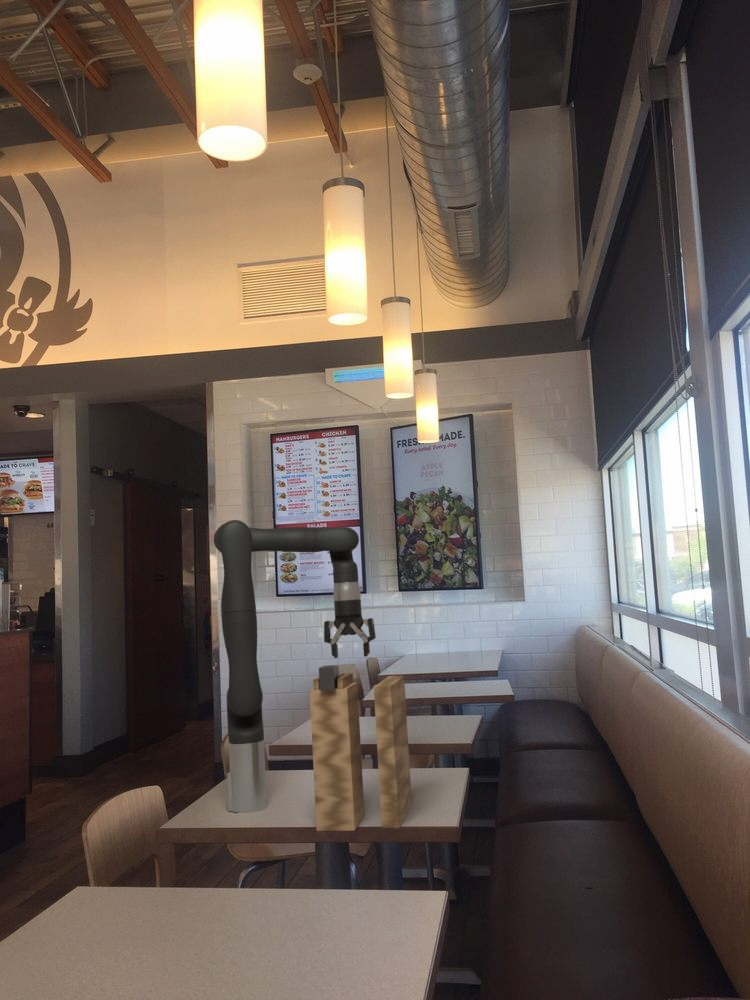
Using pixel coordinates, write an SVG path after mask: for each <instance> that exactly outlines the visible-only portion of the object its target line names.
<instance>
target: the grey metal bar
mask: <svg viewBox="0 0 750 1000" xmlns="http://www.w3.org/2000/svg"><path fill="white" fill-rule="evenodd" d="M356 666H357V664H356V663H342V664H339V665H338V664H335V665H334V664H333V665H332V664H331V665H322V666H320V667H318V677H319V684H320V690H335V689H337V688H338V683H337V679H338V678H340V677H342V676H344V675H346V674H347V673H353V680H354V679H356V678H357V667H356Z"/></svg>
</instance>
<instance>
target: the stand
mask: <svg viewBox="0 0 750 1000" xmlns="http://www.w3.org/2000/svg"><path fill="white" fill-rule="evenodd" d="M337 683H338V688H337V689H335V690H320V684H319V676H318V677H316V678H314V679H313V688H312V689H309V705H310V724H311V725H310V726H311V742H312V743H311V745H312V761H313V762H312V763H313V765H312V767H313V782H314V785H313V786H314V787H313V788H314V803H315V804H314V805H315V823H316V825H315V827H316V832H330V831H331V832H334V831H335V832H336V831H337V832H339V831H340V832H351V831H353V832H354V831H356V830H357V828H358V826H359V825H360V823H361V822H362V821H363V819H364V818H365V798H364V782H363V766H362V765H363V763H362V745H361V728H360V726H361V725H360V708H359V690H358V682H354V679H353V673H347V674H346V675H344V676H342V677H340V678H338V679H337ZM405 684H406V683H405V675H389V676H386V678H384V679H383V680H381V681H380V682H378V683H377V684H375V685H374V687H373V697H374V699H373V700H374V714H375V730H376V731H375V733H376V746H377V747H376V749H377V765H378V766H377V767H378V784H379V786H378V787H379V800H380V801H379V802H380V804H379V805H380V820H381V821H380V822H381V828H382V829H393V828H394V829H399V828H400V826H401V825H402V823H403V821H404V818H405V817H406V814H407V813H408V811H409V809H410V807H411V805H412V802H413V801H412V800H413V799H412V785H411V784H412V783H411V782H412V781H411V780H412V779H411V768H410V767H411V766H410V748H409V737H408V732H409V731H408V720H407V719H408V717H407V716H408V715H407V704H406V703H407V701H406V686H405Z"/></svg>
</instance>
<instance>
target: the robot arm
mask: <svg viewBox="0 0 750 1000" xmlns="http://www.w3.org/2000/svg"><path fill="white" fill-rule="evenodd" d="M359 542H360V537H359V534H358V532H356V530H355V529H354V528H352V527H347V526H335V527H315V526H314V527H313V526H311V527H310V526H296V527H295V526H291V527H289V526H288V527H277V528H276V527H275V528H256V527H250V526H248V524H246V523H245V522H243V521H242V520H237V519H233V520H232V519H231V520H229V521H226V522H225V523H222V524H221V525H220V526H219V527H218V528H217V529H216V531H215V533H214V535H213V543H214V546H215V548H216V550H217V551H218V552H219V553H221V557H222V564H223V584H222V589H221V590H222V591H221V592H222V593H221V601H220V614H221V615H220V617H221V625H222V626H221V628H222V637H223V640H224V645H225V646H224V647H225V650H226V655H227V660H228V689H227V691H226V716H227V735H228V757H229V758H228V759H229V761H228V762H229V771H228V773H227V774H226V779H227V784H226V785H227V802H228V804H227V806H228V810H227V811H228V812H234V813H243V814H244V813H254V812H259V811H262V810H264V809H266V808H267V805H268V804H267V801H268V797H267V780H266V779H267V777H266V757H265V756H266V755H265V753H266V752H265V733H264V732H265V730H264V723H263V720H264V719H263V704H262V703H263V700H264V694H263V691H262V687H261V686H262V685H261V682H260V675H259V669H258V658H257V657H258V656H257V655H258V653H257V652H258V618H257V617H258V616H257V605H256V604H257V603H256V598H255V597H256V596H255V589H254V586H255V585H254V580H253V573H252V556H253V555H252V553H253V552H285V553H286V552H287V553H288V552H289V553H321V552H328V553H329V557H330V562H331V565H332V575H333V592H332V593H333V604H334V605H333V606H334V607H333V608H334V620H332V621H330V620H325V621H323V622H324V623H323V641H324V643H327V644H330V647H331V656H332V657H333V658H334V659H338V658H339V647H338V644H337V643H338V642H339V640H340V638H341V637H342V636H348V635H350V636H355V635H357V636H358V637H359V638H360V639H361V640H362V641H363V643H362V645H363V657H366V658H367V657H368V656H369V654H370V652H371V651H370V650H371V648H370V643H371V641H374V640H375V639H376V637H377V636H376V630H375V629H376V628H375V622H374V618H372V617H370V618H365V619H364V618H363V614H362V598H361V597H362V596H361V595H362V594H361V589H360V584H359V571H358V565H357V563H356V562H355V561H354V557H353V556H354V555H353V551H354V550H355V549H356V548H357V547H358V545H359ZM364 624H365V626H366V627H368V633H369V636H368V635H367V634H366V633H365V631H364V630H363V628H362V627H363V625H364ZM333 626H334V627H335V628H336V632H335V634H334V635H333V637H332V638H331V629H333Z"/></svg>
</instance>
